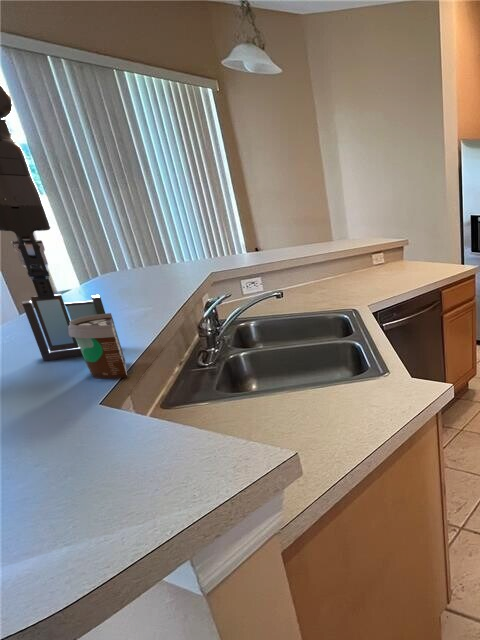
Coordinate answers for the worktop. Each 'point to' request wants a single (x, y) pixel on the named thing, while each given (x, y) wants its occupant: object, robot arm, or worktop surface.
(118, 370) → the food container
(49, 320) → the sash
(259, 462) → the worktop surface
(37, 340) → the window frame
